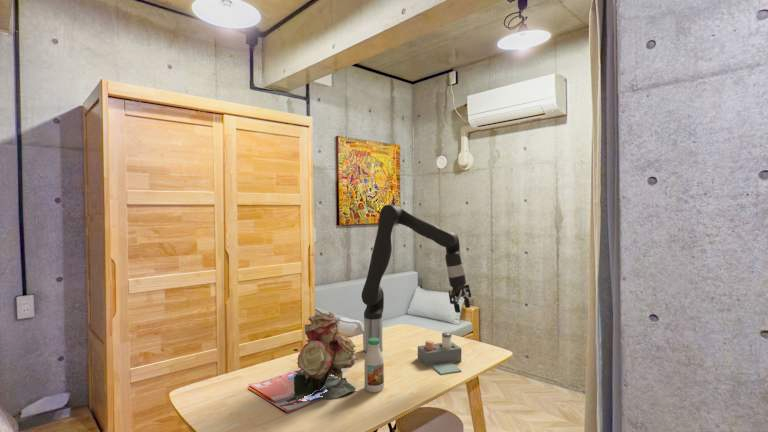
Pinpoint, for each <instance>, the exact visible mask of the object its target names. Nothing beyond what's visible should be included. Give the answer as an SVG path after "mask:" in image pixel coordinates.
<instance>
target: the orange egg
mask: <svg viewBox="0 0 768 432" xmlns="http://www.w3.org/2000/svg"><path fill="white" fill-rule="evenodd" d="M424 344H425V350H427V351H430V350H434V344H435V341H433V340H427V341H425V343H424Z"/></svg>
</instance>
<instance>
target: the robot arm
mask: <svg viewBox="0 0 768 432" xmlns="http://www.w3.org/2000/svg"><path fill="white" fill-rule="evenodd" d="M395 224H398V225H402V226H405V227H407V228H409V229H411V230H412V231H413V232H415V233H417V234H418V235H419V236H421V237H424V238H427V239H428V240H431V241H433V242H434V243H437V244H438V245H439V246H441V247H443V248H445V256H444V257H445V265H446V272H447V273H446V274H447V277H448V283H449V286H450V287H452V290H448V299H449V304H450V305H453V308H454V311H455V313H456V314H457V313H458V314H459V313H461V308H460V304H459V303H460V300H461V298H462V299H463V301H464V305H465V308H467V309H470V308H471V304H470V298H471V297H472V293H471V288H470V285H469V284H467V280H466V275H465V270H464V267H463V263H462V259H461V258H462V257H461V250H460V249H461V248H460V247H461V246H460V239H459V235H457V234H456V232H453V231H448V232H447V231H445V230H443V229H440V227H439V226H437V225H435V224H433V223H431V222H428V221H426V220H424V219H421V218H419V217H417V216H414V215H413V214H411V213H409V212H407V211H406V210H404V209H403V208H402V207H400V206H398V205H396V204H385V205H384V206H382V208H381V210H380V212H379V218H378V225H377V230H376V231H377V232H376V236H375V240H374V244H373V249H372V252H371V257H370V262H369V267H368V271H367V276H366V279H365V282H364V285H363V289H362V291H361V301H362V302H363V304H364V305H366V307H365V309H364V311H363V328H364V329H363V332H362V348H363V349H362V350H363V352H365V355H366V354H367V351H368V348H369V345H368V339H370V338H378V339H379V341H380V343H379V344H380V345H379V349H380V351H381V353H382V352H383V350H384V347H383V313H384V308H385V307H384V304H385V302H384V300H385V299H384V298H385V297H384V296H385V295H384V290H383V288H382V287H381V286H380V285H381V281H382V278H383V276H384V274H385V273H386V270H387V269H388V266H389V263H390V260H391V255H392V250H393V248H392V232H393V228H394V225H395Z"/></svg>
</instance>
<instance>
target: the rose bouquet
mask: <svg viewBox="0 0 768 432" xmlns="http://www.w3.org/2000/svg"><path fill="white" fill-rule="evenodd" d="M307 320H309V322H310V324H308V323H305V324H304V325H303V326H304V333H305V335H306V338H307V340H305V342H307V343H305V344H304V345H303V347H302V348H301V350H300V351H299V354H298V355H297V356H298V357H297V363H296V364H297V367H298V369H300V370H301V371H302V373H294V376H293V385H294V387H293V388H294V389H293V390H294V392H295V394H294V397H295V400H296V401H297V400H299V399H302V398H304V396H307V395H310V394H312V393H313V392H314V391H315V390H320V389H321V388H322V389H323V388H324V387H325V388H324V389H327V390H328V391H327V392H325V393H322V394H320V396H323V398H322V399H323V400H327V401H328V400H333V399H338V398H340V397H342V396H344V395H346V394H349V393H351V392H353V393H354V392H356V389H357V388H356V387H355V386H353V385H352V384H350V383H349V382H348V380H347V377H343V370H342V369H351V368H352V367H353V366H354V365H355V363H356V361H357V360H358V358H357V357H356V351H357V350H356V349H355V348H356V345H355V343H354V342H353V340H352V339H351V338H348V337H347V336H346V335H341V334H340V335H339V334H337V333H338V330H339V329H338V324H337V323H338V322H339V319H337V318H336V317H335V314H334V312H328V313H322V314H315V315H313V316H309V317H308V319H307ZM292 346H293V344H292ZM293 351H294V352H298V348H293ZM331 374H332V375H334V376H331V377H328V376H329V375H331Z"/></svg>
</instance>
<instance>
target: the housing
mask: <svg viewBox="0 0 768 432" xmlns="http://www.w3.org/2000/svg"><path fill="white" fill-rule="evenodd" d="M451 347H452V348H450V349H443V348H442V342H439V343H434V350H430V351H427V350H425V345H424V344H423V345H418V346H417V360H419V361H420V362H421V363H422V364H423V365H425V367H432V366H433V365H440V364H446V363H457V362H462V347H460V346H459V345H457V344H455V343H454V342H452V341H451Z"/></svg>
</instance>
